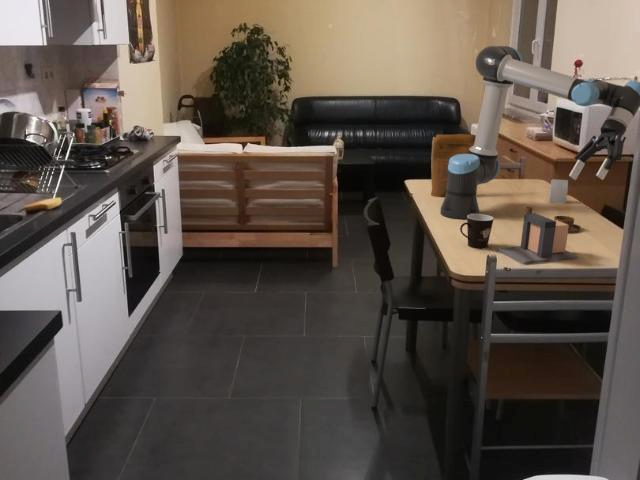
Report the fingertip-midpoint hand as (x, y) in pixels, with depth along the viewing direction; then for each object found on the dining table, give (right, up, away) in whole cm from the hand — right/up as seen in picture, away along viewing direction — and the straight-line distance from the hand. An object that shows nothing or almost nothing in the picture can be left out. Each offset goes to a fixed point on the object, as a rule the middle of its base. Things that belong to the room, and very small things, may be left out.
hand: (585, 177), depth 212 cm
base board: (-19, -26, -8) cm, 33 cm away
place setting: (0, -16, +27) cm, 31 cm away
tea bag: (+14, -5, +63) cm, 65 cm away
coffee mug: (-38, -23, +1) cm, 44 cm away
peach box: (-16, -24, -7) cm, 30 cm away
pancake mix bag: (-32, -2, +70) cm, 76 cm away
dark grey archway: (-20, -25, -8) cm, 33 cm away
